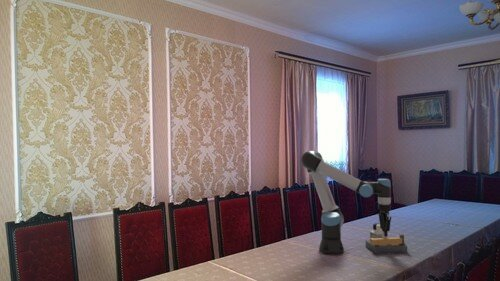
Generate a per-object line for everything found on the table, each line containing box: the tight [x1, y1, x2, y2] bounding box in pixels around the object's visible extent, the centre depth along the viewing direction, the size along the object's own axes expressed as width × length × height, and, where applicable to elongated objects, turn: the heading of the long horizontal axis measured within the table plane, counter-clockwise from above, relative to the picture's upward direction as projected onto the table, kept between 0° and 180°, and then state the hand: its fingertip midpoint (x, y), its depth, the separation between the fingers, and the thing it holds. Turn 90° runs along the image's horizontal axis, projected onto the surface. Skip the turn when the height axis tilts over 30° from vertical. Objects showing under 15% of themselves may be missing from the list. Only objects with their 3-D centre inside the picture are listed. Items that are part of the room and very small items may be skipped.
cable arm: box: [369, 233, 405, 245], centre depth 214 cm, size 21×4×5 cm, turn 95°
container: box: [369, 222, 382, 239], centre depth 231 cm, size 8×8×13 cm
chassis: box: [365, 239, 408, 255], centre depth 217 cm, size 21×15×4 cm
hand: (385, 241), depth 216 cm, fingers closed
